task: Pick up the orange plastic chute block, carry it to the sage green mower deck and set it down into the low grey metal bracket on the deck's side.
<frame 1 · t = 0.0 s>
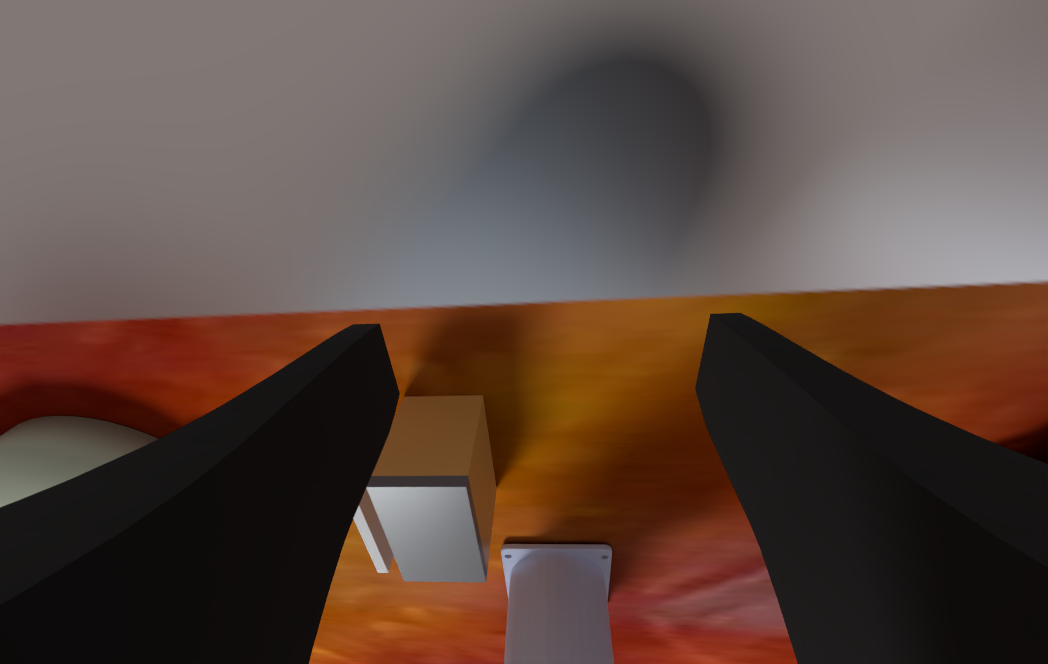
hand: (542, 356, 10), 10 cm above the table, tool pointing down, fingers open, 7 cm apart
mower deck: (238, 498, 30), on the table
chute: (454, 444, 26), on the table
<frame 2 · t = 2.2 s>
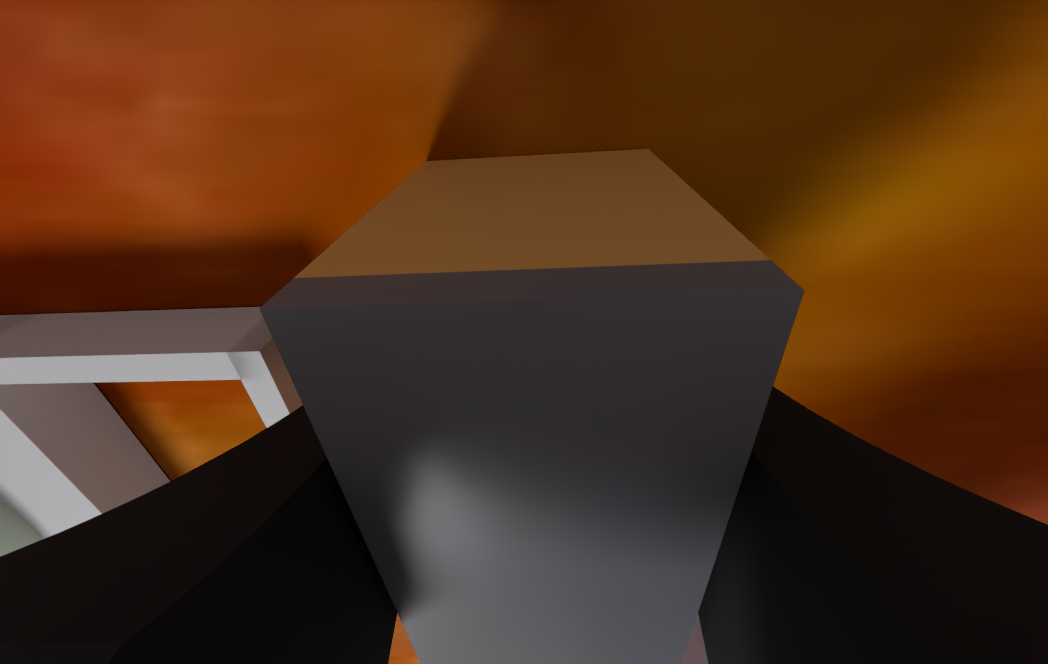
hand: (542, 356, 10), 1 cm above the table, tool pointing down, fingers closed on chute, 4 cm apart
mower deck: (79, 461, 15), on the table
chute: (542, 323, 11), on the table, touching gripper
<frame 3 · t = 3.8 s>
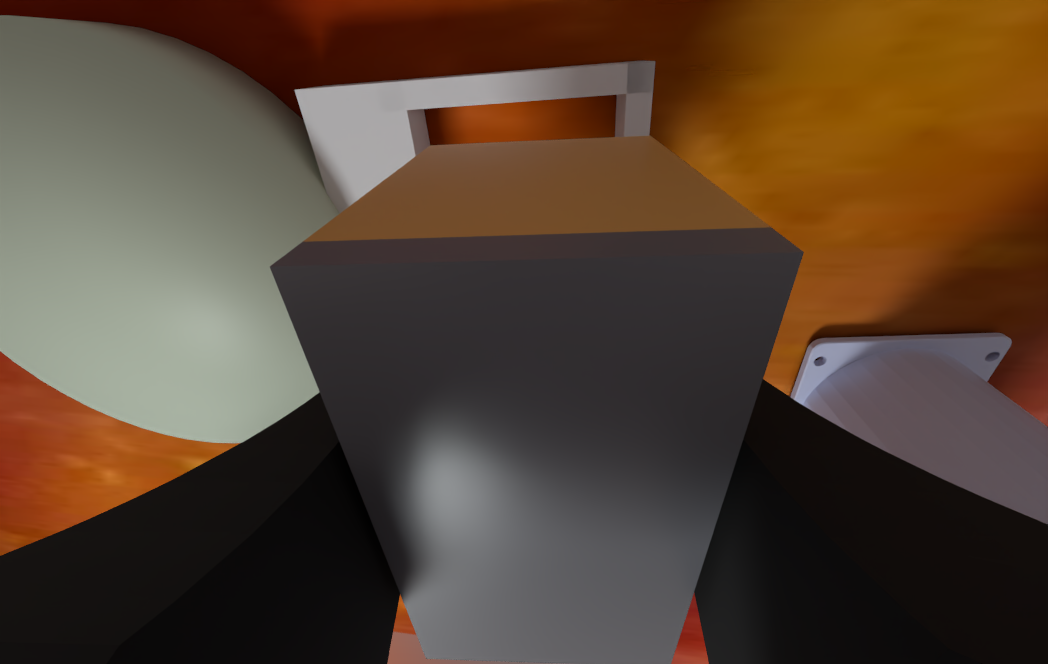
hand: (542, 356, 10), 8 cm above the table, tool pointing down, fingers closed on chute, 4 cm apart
mower deck: (380, 247, 17), on the table
chute: (543, 310, 11), point 7 cm above the table, touching gripper
when the fingers open (3 cm above the table, at t = 5.4 s): chute drops 1 cm, resting in mower deck.
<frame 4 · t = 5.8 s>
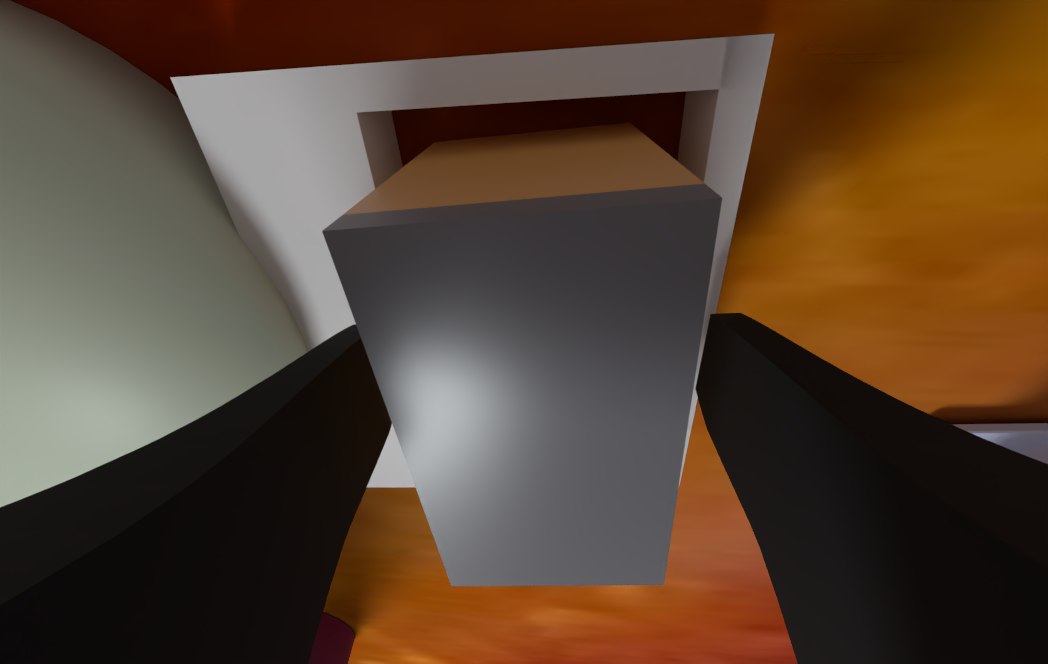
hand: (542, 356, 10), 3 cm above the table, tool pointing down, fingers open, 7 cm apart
mower deck: (337, 302, 12), on the table
chute: (543, 286, 12), resting in mower deck
cup: (312, 625, 25), on the table
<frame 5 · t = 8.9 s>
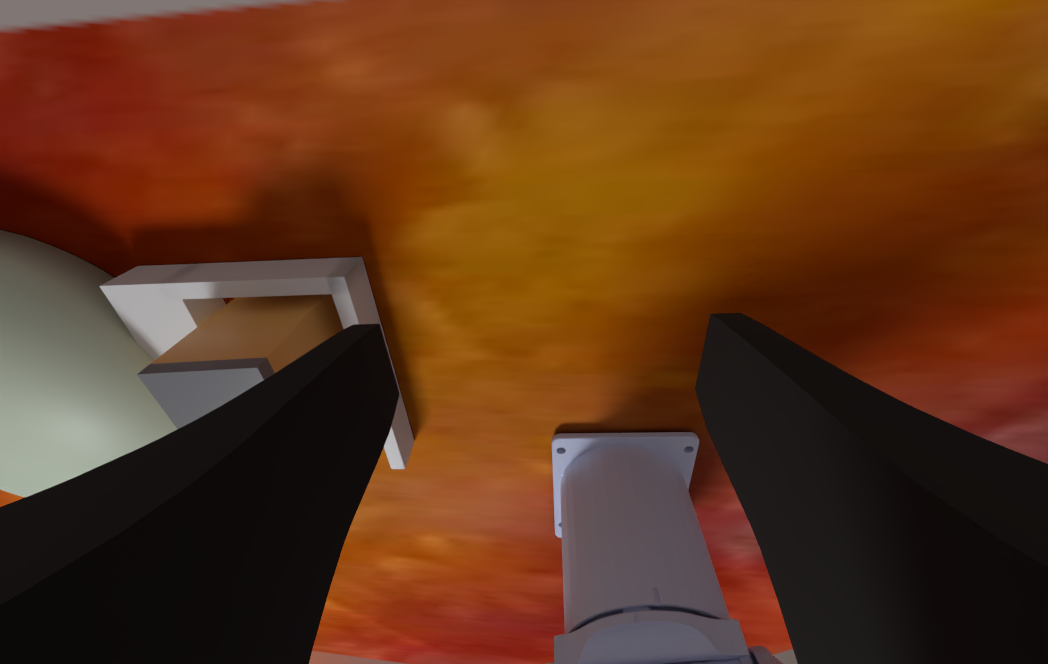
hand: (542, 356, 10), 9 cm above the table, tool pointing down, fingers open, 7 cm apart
mower deck: (206, 366, 23), on the table
chute: (316, 359, 22), resting in mower deck
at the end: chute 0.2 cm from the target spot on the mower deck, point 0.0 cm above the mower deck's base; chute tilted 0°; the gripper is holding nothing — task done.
